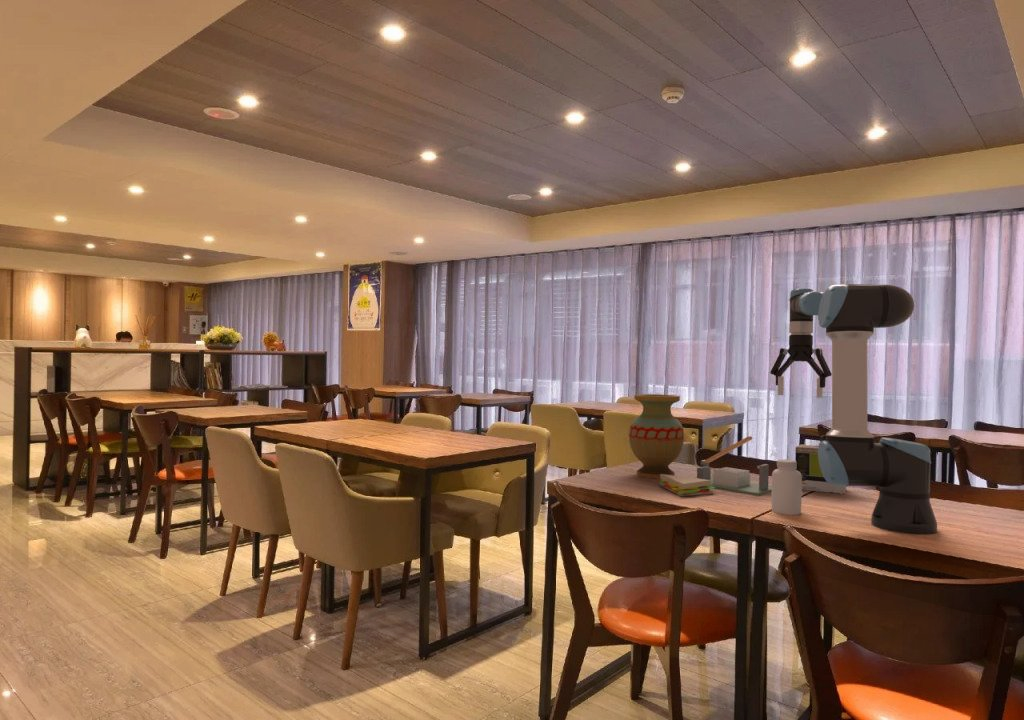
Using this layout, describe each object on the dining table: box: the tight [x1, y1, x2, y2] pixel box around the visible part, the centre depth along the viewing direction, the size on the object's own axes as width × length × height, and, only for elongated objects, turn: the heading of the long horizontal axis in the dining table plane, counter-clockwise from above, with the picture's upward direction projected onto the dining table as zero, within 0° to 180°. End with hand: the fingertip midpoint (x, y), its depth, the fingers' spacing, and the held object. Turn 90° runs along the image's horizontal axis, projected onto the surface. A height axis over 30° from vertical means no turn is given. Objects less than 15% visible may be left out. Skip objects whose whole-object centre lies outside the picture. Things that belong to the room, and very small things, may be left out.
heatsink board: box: [696, 463, 772, 497], centre depth 234 cm, size 28×16×9 cm, turn 44°
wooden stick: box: [698, 435, 754, 467], centre depth 235 cm, size 21×4×2 cm
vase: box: [628, 393, 685, 479], centre depth 252 cm, size 20×20×30 cm
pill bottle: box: [771, 459, 803, 516], centre depth 196 cm, size 8×8×15 cm
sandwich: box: [658, 474, 716, 497], centre depth 224 cm, size 15×20×5 cm
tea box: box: [794, 444, 847, 494], centre depth 232 cm, size 15×10×15 cm, turn 58°
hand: (799, 396), depth 234 cm, fingers open, 13 cm apart
